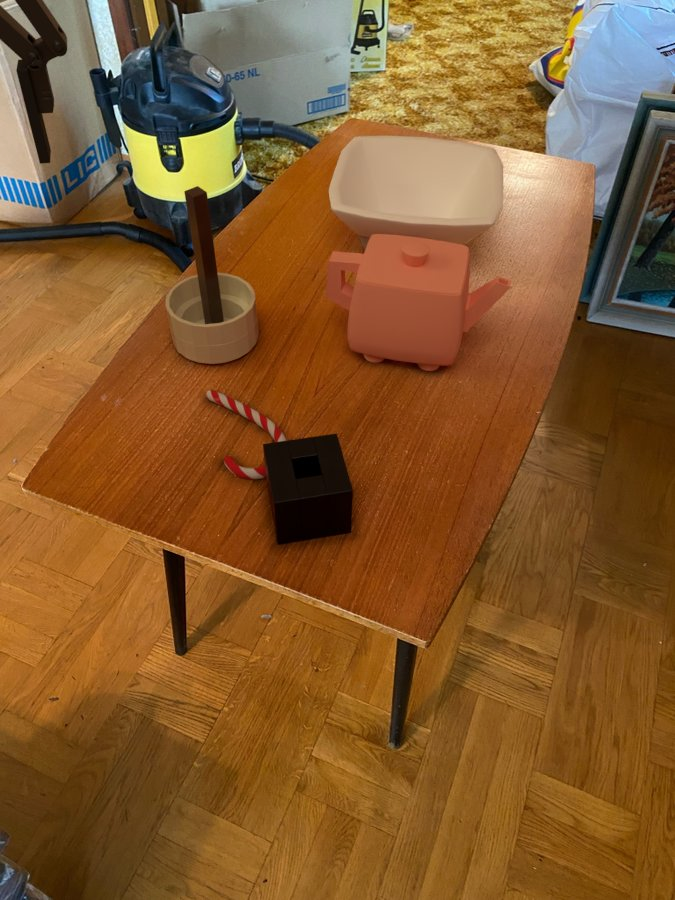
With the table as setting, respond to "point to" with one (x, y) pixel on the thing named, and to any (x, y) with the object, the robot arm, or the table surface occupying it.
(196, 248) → the stick
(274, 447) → the stick stand
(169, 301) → the mixing bowl
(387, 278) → the teapot
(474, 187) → the bowl
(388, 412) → the table surface
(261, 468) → the candy cane
